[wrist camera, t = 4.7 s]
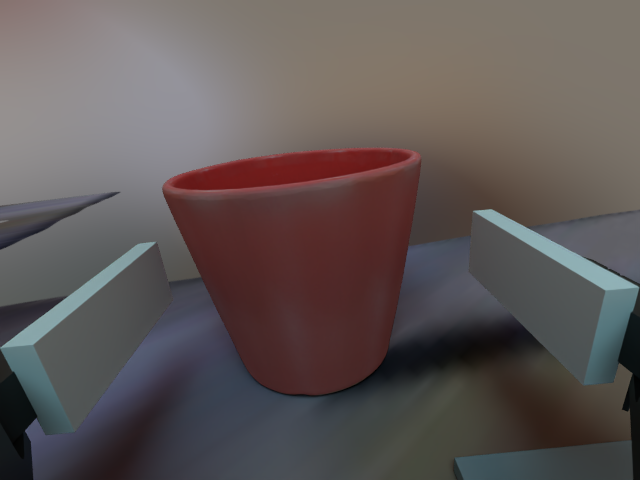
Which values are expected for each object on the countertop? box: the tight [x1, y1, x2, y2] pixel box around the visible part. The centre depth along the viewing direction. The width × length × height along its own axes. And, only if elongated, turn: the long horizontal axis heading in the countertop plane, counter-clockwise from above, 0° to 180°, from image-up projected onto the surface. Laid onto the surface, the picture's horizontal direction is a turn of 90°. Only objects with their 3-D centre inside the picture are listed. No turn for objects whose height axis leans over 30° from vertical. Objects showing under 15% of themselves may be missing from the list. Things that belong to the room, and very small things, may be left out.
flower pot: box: [162, 148, 421, 395], centre depth 17 cm, size 11×11×10 cm
